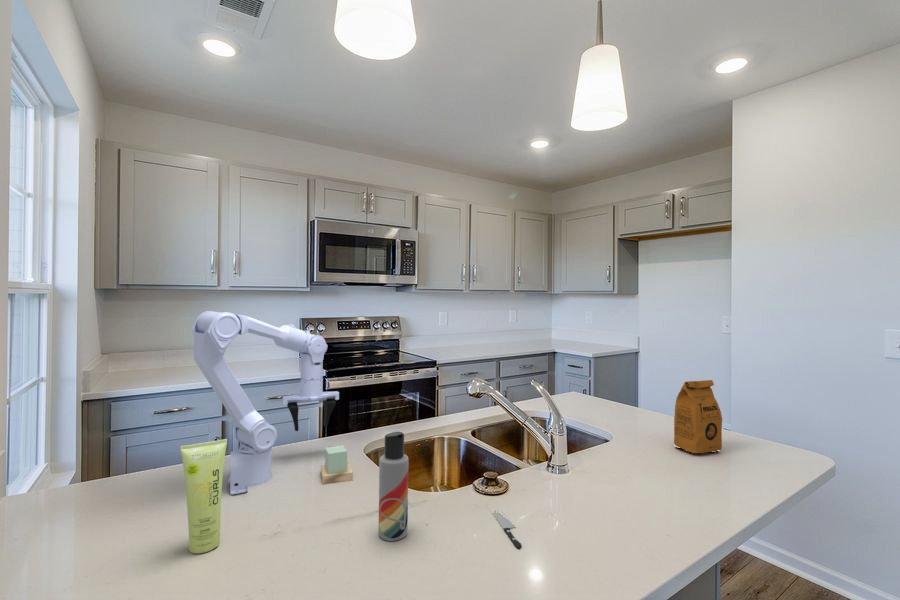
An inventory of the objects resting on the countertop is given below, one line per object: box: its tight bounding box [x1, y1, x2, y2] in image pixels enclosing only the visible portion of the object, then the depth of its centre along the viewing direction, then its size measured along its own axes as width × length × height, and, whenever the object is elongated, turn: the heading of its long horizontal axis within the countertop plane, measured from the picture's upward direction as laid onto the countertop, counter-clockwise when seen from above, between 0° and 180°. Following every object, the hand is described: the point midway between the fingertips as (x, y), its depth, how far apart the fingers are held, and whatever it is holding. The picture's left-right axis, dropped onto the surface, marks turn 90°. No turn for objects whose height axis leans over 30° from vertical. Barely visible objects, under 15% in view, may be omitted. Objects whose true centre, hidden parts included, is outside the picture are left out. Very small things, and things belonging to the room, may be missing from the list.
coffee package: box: [673, 379, 723, 454], centre depth 134 cm, size 10×12×22 cm
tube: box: [179, 438, 228, 554], centre depth 79 cm, size 6×5×20 cm
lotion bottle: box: [378, 431, 409, 542], centre depth 85 cm, size 6×6×20 cm
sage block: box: [324, 444, 348, 474], centre depth 107 cm, size 4×4×5 cm
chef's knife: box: [491, 510, 522, 550], centre depth 90 cm, size 19×1×3 cm
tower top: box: [320, 461, 354, 486], centre depth 108 cm, size 7×7×2 cm
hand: (311, 428), depth 117 cm, fingers open, 7 cm apart
